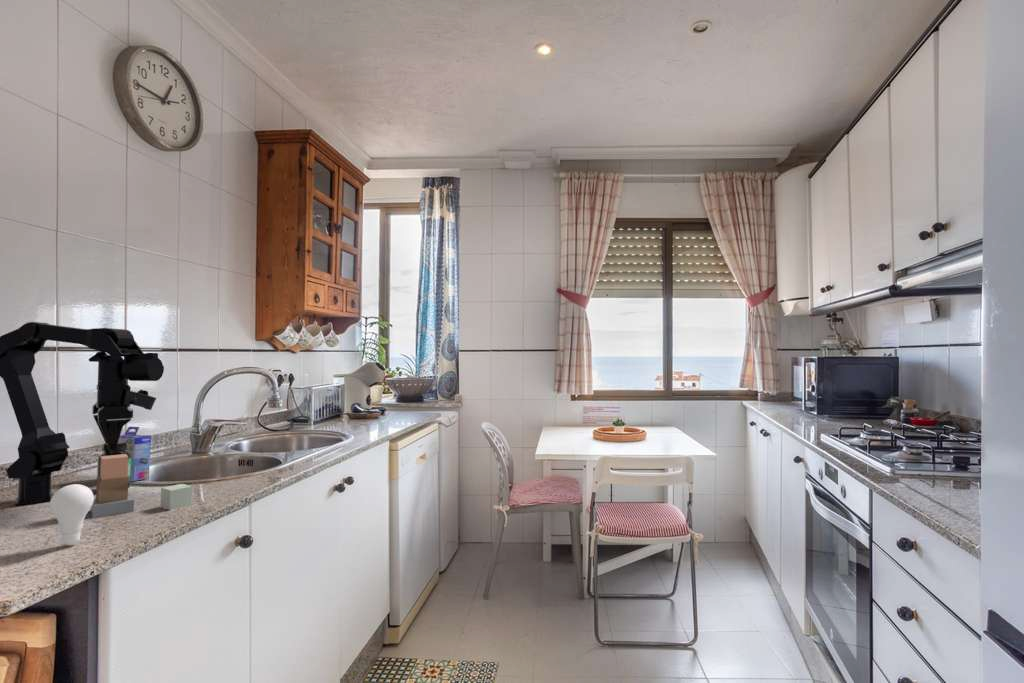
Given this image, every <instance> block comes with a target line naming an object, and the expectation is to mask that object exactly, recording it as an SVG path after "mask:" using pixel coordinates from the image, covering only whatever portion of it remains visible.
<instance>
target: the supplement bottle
mask: <svg viewBox="0 0 1024 683" xmlns="http://www.w3.org/2000/svg"><path fill="white" fill-rule="evenodd" d="M126 449H127V442H123V441H120V442H118V444H117V447H116V449H110V448H109V446H108V444H106V443H105V442H104V443H103V446H102V452H103V453H101V454H99V456H98V457H97V467H96V468H97V470H96V472H97V474H96V478H97V477H100V467H101V456H110V455H120V454H126V455H127V456H128V489H129V488H130V486H131V482H130V476H131V455H130V453H128V452H126Z"/></svg>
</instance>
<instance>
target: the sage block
mask: <svg viewBox="0 0 1024 683" xmlns="http://www.w3.org/2000/svg"><path fill="white" fill-rule="evenodd" d="M160 489H161V490H160V508H162V507H163V508H162V509H165V508H166V509H165V510H167V509H169V510H168V511H173V510H172V509H174V510H177V509H176V508H179V509H181V508H180V507H183V508H185V507H184V506H188V507H191V506H190V505H192V500H193V498H192V497H193V486H192V485H189V484H184V483H180V484H179V483H178V484H175V485H170V486H169V485H168V486H164V487H161V488H160Z"/></svg>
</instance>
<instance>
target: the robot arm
mask: <svg viewBox="0 0 1024 683" xmlns="http://www.w3.org/2000/svg"><path fill="white" fill-rule="evenodd" d="M47 341H53V342H61V343H69V344H76V345H81V346H82V345H83V346H85V347H86V348H88V349H91V350H94V351H97V352H96V353H95V354H94V355H91V357H89V359H88V362H93V363H94V362H97V364H98V365H97V384H96V390H97V391H96V392H97V394H96V402H95V403H94V404H93V405H92V416H93V419H94V421H95V423H96V425H97V427H98V429H99V431H100V433H101V436H102V438H103V440H104V443H106V444H108V446H109V448H110V449H116V447H117V444H118V440H119V437H120V435H122V434H121V433H122V430H123V427H124V426H125V425H126V424H128V423H129V422H131V421H132V419H133V418H134V409H132V408H131V406H137V407H141V408H142V409H143V408H144V409H145V410H150V411H152V409H153V407H154V405H155V402H156V401H157V397H154V396H151V395H149V391H147V390H143V389H139V390H138V391H137V392H136V391H132V390H131V386H130V384H129V381H130V382H157V381H160V379H161V378H162V377H163V375H164V372H165V367H164V365H163V362H162V360H161V359H160V358H159V354H158V352H146V353H144V351H143V350H142V349H141V347H140V346H139V345H138V343H137V342H136V340H135V338H134V334H132V331H130V330H127V329H123V328H110V327H100V328H99V327H97V328H79V327H72V326H66V325H65V326H64V325H57V324H56V325H55V324H49V323H48V322H38V321H37V322H36V321H35V322H34V321H28V322H26V323H23V324H22V325H21V326H19V327H18V328H16V329H13V331H9V332H7V333H5V334H2V335H1V336H0V378H1V379H2V380H3V383H4V385H5V386H4V387H5V388H6V391H7V394H8V397H9V400H10V403H11V406H12V409H13V412H14V415H15V417H16V421H17V425H18V427H19V430H20V432H21V439H20V440H19V444H18V447H17V452H18V453H17V454H18V458H17V459H16V460H15V461H14V462H13V463H12V464H11V465H9V467H8V468H6V474H7V477H8V479H15V480H16V479H18V483H17V484H18V485H17V497H16V498H15V502H14V506H22V505H29V504H36V503H43V502H50V501H51V498H52V496H53V495H54V494H53V493H51V492H52V473H54V472H60V471H61V470H62V468H63V465H64V462H65V461H66V459H67V457H68V456H69V448H70V446H69V445H68V442H67V439H66V435H65V433H64V432H57V433H56V432H55V431H53V430H52V429H51V428H50V424H49V423H48V418H47V416H46V413H45V411H44V407H43V404H42V400H41V398H40V395H39V393H38V390H37V385H36V383H35V381H34V377H33V375H32V371H33V369H34V367H35V364H36V358H35V355H37V353H39V352H40V351H42V350H43V348H44V346H45V344H46V342H47Z"/></svg>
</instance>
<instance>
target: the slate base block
mask: <svg viewBox="0 0 1024 683" xmlns="http://www.w3.org/2000/svg"><path fill="white" fill-rule="evenodd" d="M134 509H135V499H134V497H133V496H132V494H131V493H128V500H122V501H116V502H109V503H103V504H99V503H98V502H97V500H96V497H94V501H93V504H92V506H91V508H90V512H91V516H92V518H93V519H96V518H102V517H107V516H108V515H110V516H113V515H114V516H115V514H116V515H121V513H122V514H126V512H128V513H134V512H135V510H134ZM133 511H134V512H133Z"/></svg>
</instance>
